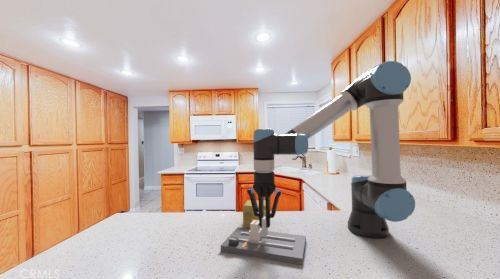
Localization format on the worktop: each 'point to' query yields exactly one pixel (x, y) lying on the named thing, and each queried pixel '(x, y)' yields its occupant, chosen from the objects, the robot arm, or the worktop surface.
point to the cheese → (250, 213)
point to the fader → (255, 231)
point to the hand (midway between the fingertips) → (264, 235)
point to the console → (267, 246)
